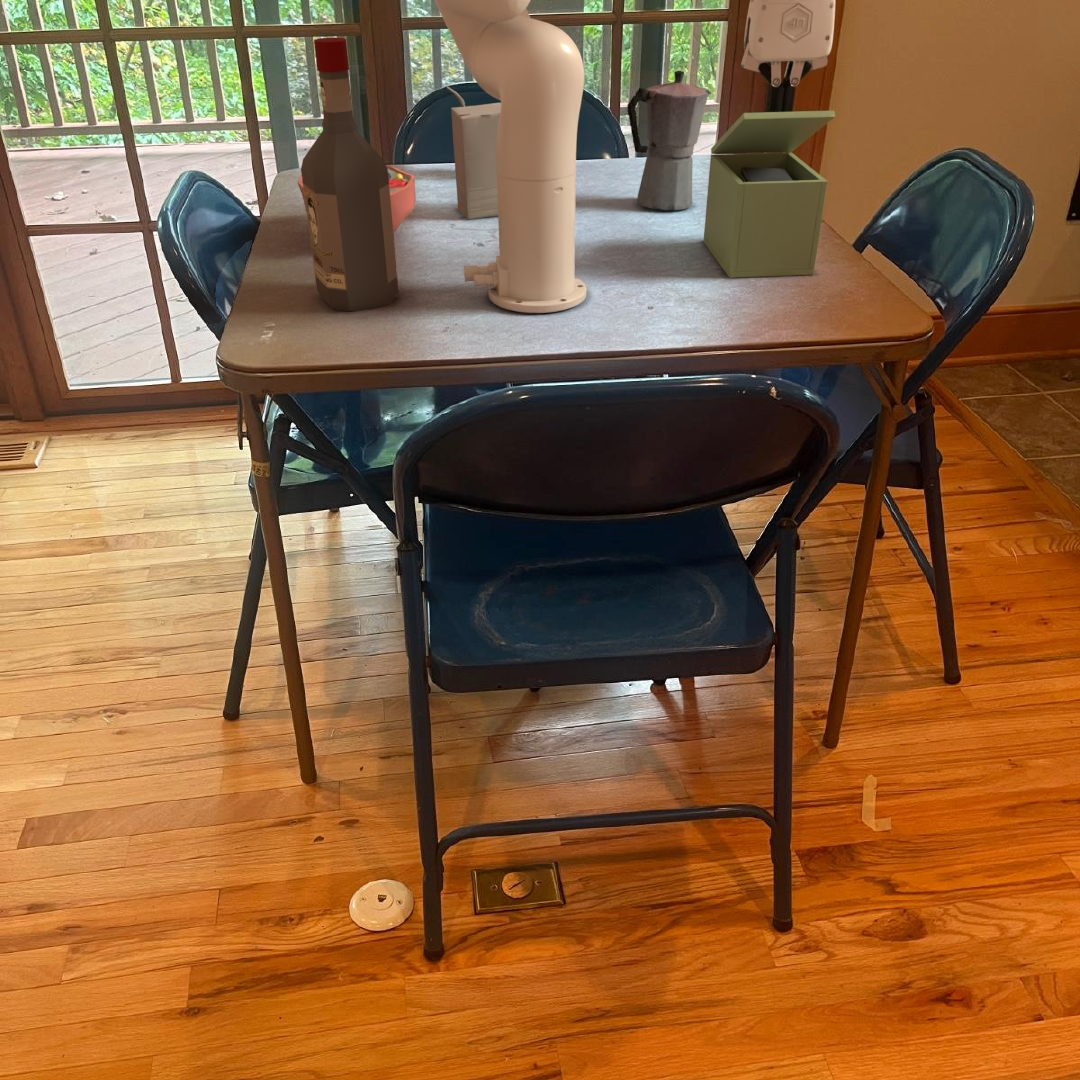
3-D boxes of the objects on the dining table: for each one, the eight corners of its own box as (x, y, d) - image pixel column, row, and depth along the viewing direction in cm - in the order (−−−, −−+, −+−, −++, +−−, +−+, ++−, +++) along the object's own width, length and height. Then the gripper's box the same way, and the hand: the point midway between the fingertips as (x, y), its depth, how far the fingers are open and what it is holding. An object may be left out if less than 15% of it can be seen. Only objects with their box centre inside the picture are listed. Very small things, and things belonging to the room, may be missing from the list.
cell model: (305, 261, 141) (294, 178, 134) (304, 220, 157) (293, 145, 151) (425, 253, 144) (420, 171, 137) (411, 213, 160) (406, 139, 154)
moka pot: (718, 204, 163) (731, 70, 152) (645, 220, 156) (652, 81, 145) (680, 191, 170) (689, 62, 158) (608, 206, 163) (612, 72, 151)
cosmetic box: (504, 204, 164) (502, 100, 155) (517, 216, 158) (515, 109, 149) (454, 209, 162) (449, 104, 153) (465, 221, 156) (460, 113, 147)
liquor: (380, 281, 134) (355, 32, 117) (404, 303, 127) (382, 42, 111) (313, 292, 131) (279, 37, 114) (334, 315, 124) (301, 48, 107)
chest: (813, 274, 135) (827, 181, 128) (729, 278, 134) (738, 183, 127) (780, 239, 148) (791, 152, 141) (703, 241, 147) (710, 154, 140)
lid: (835, 117, 125) (835, 110, 125) (743, 119, 124) (743, 112, 124) (792, 151, 141) (792, 145, 141) (711, 154, 140) (710, 148, 140)
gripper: (743, -43, 115) (728, 126, 125) (869, -46, 116) (844, 122, 126) (727, -48, 121) (714, 114, 132) (847, -50, 122) (825, 110, 133)
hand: (778, 118), depth 129 cm, fingers closed
